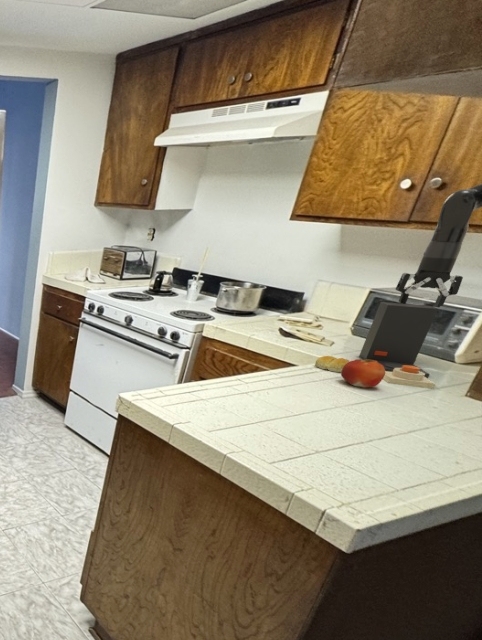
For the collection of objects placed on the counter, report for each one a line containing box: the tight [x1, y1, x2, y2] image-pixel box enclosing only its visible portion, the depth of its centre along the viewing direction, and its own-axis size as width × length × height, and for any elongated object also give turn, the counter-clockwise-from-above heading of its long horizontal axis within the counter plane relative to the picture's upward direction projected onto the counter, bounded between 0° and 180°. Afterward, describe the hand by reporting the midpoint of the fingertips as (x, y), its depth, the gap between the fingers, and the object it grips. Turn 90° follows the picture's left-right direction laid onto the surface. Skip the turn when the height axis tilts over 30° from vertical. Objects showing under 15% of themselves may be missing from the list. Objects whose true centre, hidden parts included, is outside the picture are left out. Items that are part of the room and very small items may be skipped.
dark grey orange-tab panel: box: [358, 301, 439, 379], centre depth 151 cm, size 17×12×20 cm
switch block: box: [382, 368, 436, 390], centre depth 142 cm, size 10×8×4 cm
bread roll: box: [314, 355, 350, 373], centre depth 153 cm, size 8×9×4 cm
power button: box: [401, 365, 421, 374], centre depth 141 cm, size 4×4×2 cm
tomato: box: [340, 358, 385, 389], centre depth 138 cm, size 9×9×8 cm
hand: (419, 305), depth 158 cm, fingers open, 8 cm apart
